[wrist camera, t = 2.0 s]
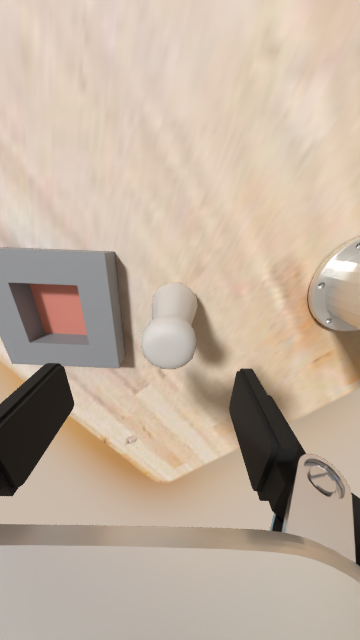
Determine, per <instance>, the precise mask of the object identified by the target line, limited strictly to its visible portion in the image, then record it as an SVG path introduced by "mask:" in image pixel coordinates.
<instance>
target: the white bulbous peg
mask: <svg viewBox="0 0 360 640" xmlns="http://www.w3.org/2000/svg"><path fill="white" fill-rule="evenodd" d="M197 307H198V305H197V299H196V295H195V294H194V293H193V291H192V290H191V289H190V288H189V287H188V286H186V285H184V284H182V283H168V284H166V285H164V286H161V287H160V288H159V289H158V291H157V292H156V293H155V294H154V297H153V302H152V321H151V322H150V323H149V324H148V326H147V327H146V328H145V330H144V331H143V336H142V341H141V348H142V351H143V354H144V357H145V358H146V359H147V360H148V361H149V362H150V363H151V364H152V365H155V366H157V367H160V368H162V369H176V368H179V367H182V366H184V365H186V364H187V363H188V362H189V361H190V360H191V359H192V358H193V355H194V352H195V349H196V344H197V343H196V338H195V332H194V329H193V328H192V327H191V326H192V323H193V320H194V317H195V313H196V310H197Z"/></svg>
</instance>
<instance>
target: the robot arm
mask: <svg viewBox="0 0 360 640" xmlns="http://www.w3.org/2000/svg"><path fill="white" fill-rule="evenodd" d="M308 304H309V308H310V311H311V313H312V315H313V317H314V318H315V319H316V320H317V321H318V322H320V323H321V324H323V325H324V326H326V327H328V328H330V329H333V330H337V331H356V330H360V237H357V238H354V239H352V240H351V241H349V242H347V243H345V244H343V245H342V246H341V247H339V248H338V249H336V250H335V251H334V252H333V253H332V254H331V255H330V256H328V257H327V258H326V259H325V261H324V262H323V263H322V264H321V266H320V267H319V268H318V270H317V272H316V273H315V275H314V277H313V279H312V282H311V284H310V288H309V293H308ZM73 407H74V400H73V397H72V393H71V390H70V386H69V383H68V379H67V376H66V372H65V369H64V367H63V366H62V365H61V364H59V363H46V364H45V365H44V366H43V367H41V368H40V369H39V370H38V371H37V372H36V373H35V374H34V375H32V376H31V377H30V378H29V379H28V380H27V381H26V382H25V383H23V384H22V385H21V386H20V387H19V388H18V389H17V390H16V391H14V392H13V393H12V394H11V395H10V396H9V397H8V398H6V399H5V400H4V401H3V402H2V403H1V404H0V496H13V495H14V493H15V492H16V490H17V489H18V487H20V486H21V485H23V484H24V483H25V481H26V480H27V478H28V476H29V475H30V474H31V472H32V471H33V469H34V467H35V466H36V465H37V463H38V461H39V460H40V458H41V457H42V455H43V454H44V452H45V451H46V449H47V448H48V446H49V445H50V443H51V441H52V440H53V438H54V437H55V435H56V434H57V432H58V431H59V429H60V428H61V426H62V425H63V423H64V422H65V420H66V418H67V417H68V416H69V414H70V412H71V411H72V409H73ZM229 410H230V415H231V419H232V422H233V425H234V429H235V432H236V435H237V439H238V442H239V445H240V449H241V452H242V456H243V459H244V462H245V465H246V469H247V472H248V476H249V479H250V482H251V486H252V488H253V490H254V491H257V492H258V496H259V499H260V500H261V501H269V503H270V506H271V509H272V511H273V512H274V515H273V519H272V524H271V528H270V531H266V530H252V529H232V528H203V527H157V526H98V525H97V526H96V525H95V526H94V525H14V524H13V525H12V524H10V525H9V524H0V640H360V498H358V497H357V496H355V495H354V494H353V493H351V490H350V487H349V485H348V483H347V481H346V479H345V478H344V477H343V476H342V474H341V473H340V472H339V471H338V470H337V469H336V468H335V467H334V466H333V465H332V464H331V463H329V462H328V461H326V460H325V459H323V458H321V457H319V456H317V455H313V454H306V453H305V451H304V450H303V448H302V446H301V445H300V443H299V441H298V440H297V438H296V436H295V435H294V433H293V431H292V430H291V428H290V426H289V425H288V423H287V421H286V420H285V418H284V416H283V415H282V413H281V411H280V410H279V408H278V406H277V405H276V403H275V401H274V400H273V398H272V397H271V396H270V395H267V393H266V392H265V390H264V388H263V386H262V385H261V383H260V381H259V380H258V378H257V376H256V374H255V373H254V371H253V370H252V369H240V371H237V373H236V377H235V382H234V387H233V392H232V397H231V401H230V407H229Z"/></svg>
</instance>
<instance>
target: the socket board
mask: <svg viewBox="0 0 360 640" xmlns="http://www.w3.org/2000/svg"><path fill="white" fill-rule="evenodd" d="M0 337H1V339H2V341H3V344H4V346H5V348H6V351H7V353H8V355H9V358H10V360H11V362H12V364H34V365H45V364H46V363H59V364H61V365H62V366H79V367H102V368H120V366H121V364H122V362H123V360H124V358H125V347H124V338H123V329H122V319H121V310H120V301H119V292H118V282H117V273H116V264H115V254H114V252H108V251H83V250H58V249H33V248H8V247H0Z"/></svg>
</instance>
